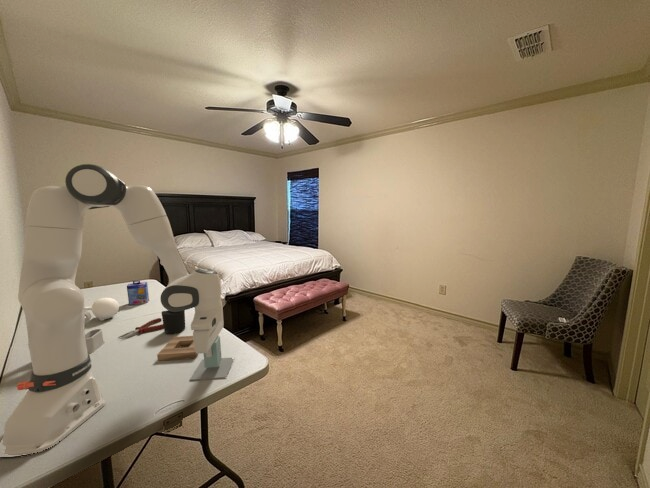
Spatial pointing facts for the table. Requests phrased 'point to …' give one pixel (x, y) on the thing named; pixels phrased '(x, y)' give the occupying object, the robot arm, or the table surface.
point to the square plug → (214, 355)
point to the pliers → (144, 328)
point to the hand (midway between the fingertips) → (212, 351)
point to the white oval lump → (104, 308)
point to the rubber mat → (212, 370)
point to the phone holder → (93, 337)
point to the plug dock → (178, 349)
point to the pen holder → (173, 321)
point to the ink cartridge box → (137, 293)
